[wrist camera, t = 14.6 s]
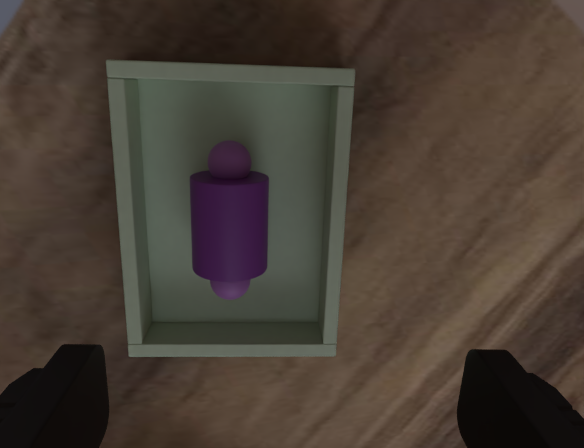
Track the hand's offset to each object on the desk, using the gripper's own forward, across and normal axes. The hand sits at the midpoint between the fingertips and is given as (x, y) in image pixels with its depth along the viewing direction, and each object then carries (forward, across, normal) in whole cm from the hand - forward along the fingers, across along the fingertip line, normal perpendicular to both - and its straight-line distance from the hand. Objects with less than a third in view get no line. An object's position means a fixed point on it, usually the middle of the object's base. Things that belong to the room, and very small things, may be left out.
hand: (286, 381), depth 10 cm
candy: (+17, +2, +1) cm, 17 cm away
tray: (+17, +2, +1) cm, 17 cm away
